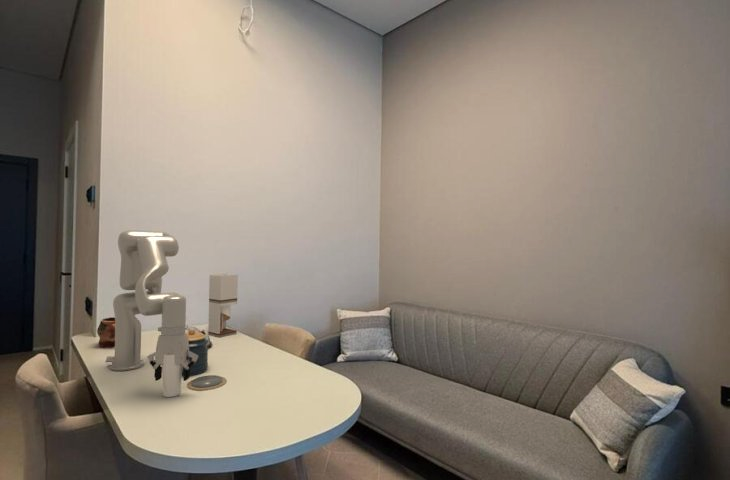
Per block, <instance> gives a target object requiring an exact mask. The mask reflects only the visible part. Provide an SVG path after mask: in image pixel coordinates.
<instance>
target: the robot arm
mask: <svg viewBox="0 0 730 480" xmlns="http://www.w3.org/2000/svg"><path fill="white" fill-rule="evenodd" d="M117 245H118V250H119V253H120V272H119V287H120V288H121V289H122V290H124V291H131V292H124V293H119V294H118V295H116V296H114V298H113V300H112V301H113V303H112V305H113V312H114V317H115V346H114V356H106V359H105V363H111V364H110V366H109V370H110V371H114V372H124V371H125V372H126V371H132V370H136V369H139V368H142V367H143V366H144V365H145V361H144V360H143V359H142V358H141V353H142V352H141V351H142V348H141V347H142V324H141V321H140V320H139V319H138V318H137V317H136V315H139V314H141V315H143V316H145V317H149V316H158V315H161V326H160V327H157V331H158V332H160V334H159V336H158V337H157V342H156V346H155V352H152V353H150V354H149V355H147V360H148V362H149V365H150V366H151V367H152V369H153V370H154V376H153V377H154V378H155V381H154V382H157V381H159V380H161V379H163V373H162V365H163V362H164V355H165V354H167V355H172V354H174V355H175V356H174V358H175V365H181V364H182V365H183V366H184V368H185V369H184V374H183V376H182V377H183V380H182V381H184V382H186V381H187V380H189V379H190V377H191V375H190V367H192V365H194V364H195V362H196V360H197V359H198V355H196V354H195V353H193V352H191V351H189V342H188V336H187V334H185V326H186V322H187V321H186V319H187V317H186V316H187V315H186V314H187V299H186V297H185V296H184V295H180V294H179V293H177V292H162V285H163V276H165V275H166V274H167V273H168V272H169V268H170V267H169V264H168V260H167V257H169V258H170V257H175V256H177V254H178V253H179V248H180V247H179V243H178V240H177V239H176V238H175V236H174V235H172V234H169V233H167V232H164V231H159V230H158V231H154V230H152V231H151V230H125V231H121V233H120V234H119V235H118V240H117ZM132 291H133V292H132ZM189 356H190V357H191V358H192V361H191V362H189ZM154 357H155V358H154Z"/></svg>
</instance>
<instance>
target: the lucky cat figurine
mask: <svg viewBox="0 0 730 480" xmlns="http://www.w3.org/2000/svg"><path fill="white" fill-rule="evenodd" d="M190 329H194V330H195V332H201V333H203V334H204V335H206V338H205V339H206V340H208V343H207V348H208V349H210V348H211V347H213V342H212V341H211V338H210V335H208V333H206V332H205V330H204V329H202V330H201V331H200V330H199V329H198V328H197V327H196V326H188V325H185V333H188V332H189V330H190Z"/></svg>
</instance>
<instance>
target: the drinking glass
mask: <svg viewBox="0 0 730 480" xmlns="http://www.w3.org/2000/svg"><path fill="white" fill-rule="evenodd" d="M174 356H175V355H174V354H172V355H167V354H165V355H164V362H163V365H161V367H162V385H163V396H164V397H165V398H174V397H177V396H179V395H180V394H181V389H182V377H183V376H182V371H183V365H182V364H181V365H175V358H174Z"/></svg>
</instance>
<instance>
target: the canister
mask: <svg viewBox="0 0 730 480" xmlns="http://www.w3.org/2000/svg"><path fill="white" fill-rule="evenodd" d="M185 334H187V336H188V342H189V351H191V352H193V353H195V354H196V355H198V359H197V360H196V362H195V364H194V365H192V367H190V376H196V375H199V374H202V373H205V372H207V370H208V367H209V363H208V362H209V361H208V358H209V357H208V356H209V355H208V354H209V348H207V343H208V340H206V339H205V338H206V335H204V334H203V333H201V331H200V332H195V330H194V329H190V330H189V332H188V333H185ZM191 361H192V358H191V357H190V356H189V362H191ZM184 369H185V368H184V366H183V371H182V377H183V374H184Z"/></svg>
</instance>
